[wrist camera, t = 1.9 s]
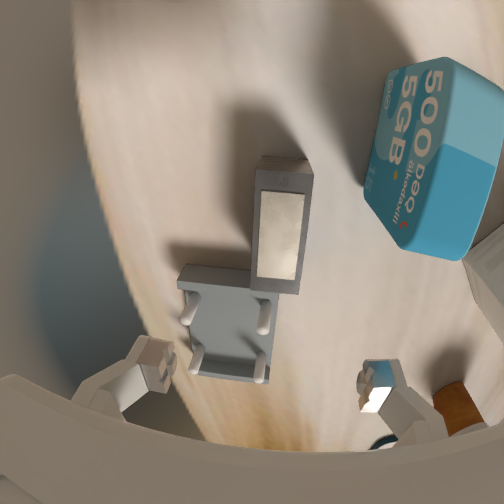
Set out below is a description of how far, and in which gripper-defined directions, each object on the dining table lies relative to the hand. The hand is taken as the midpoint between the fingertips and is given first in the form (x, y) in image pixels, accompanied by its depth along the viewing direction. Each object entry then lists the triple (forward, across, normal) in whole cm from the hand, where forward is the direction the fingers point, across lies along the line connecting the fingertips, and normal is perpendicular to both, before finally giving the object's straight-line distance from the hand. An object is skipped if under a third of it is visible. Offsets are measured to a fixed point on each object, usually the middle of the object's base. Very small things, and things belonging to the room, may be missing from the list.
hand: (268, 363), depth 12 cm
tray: (+18, +4, +14) cm, 23 cm away
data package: (+18, -10, -8) cm, 22 cm away
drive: (+18, 0, 0) cm, 18 cm away
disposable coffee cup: (+18, -33, +29) cm, 47 cm away
